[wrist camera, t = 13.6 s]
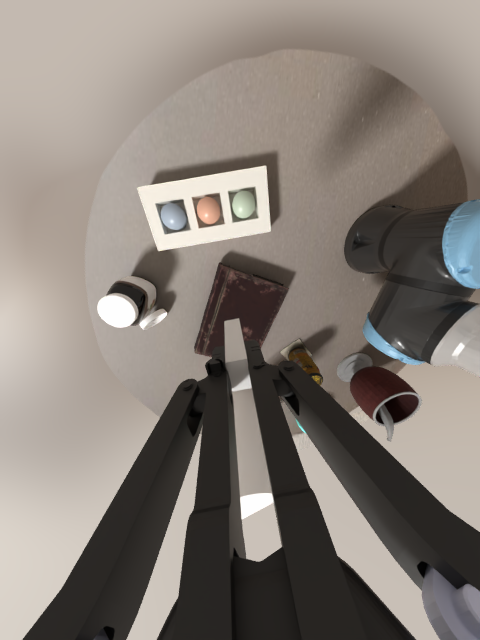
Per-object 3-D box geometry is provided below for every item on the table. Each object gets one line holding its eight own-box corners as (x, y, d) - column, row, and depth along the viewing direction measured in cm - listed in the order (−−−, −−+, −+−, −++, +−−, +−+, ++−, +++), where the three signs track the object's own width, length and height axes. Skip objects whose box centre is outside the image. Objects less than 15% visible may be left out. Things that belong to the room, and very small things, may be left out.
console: (261, 173, 37) (266, 165, 32) (266, 232, 41) (270, 231, 37) (146, 193, 36) (136, 187, 32) (164, 249, 41) (158, 251, 37)
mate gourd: (344, 348, 58) (399, 398, 40) (380, 352, 60) (448, 402, 42) (326, 384, 64) (367, 441, 46) (360, 386, 67) (411, 442, 48)
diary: (195, 343, 53) (192, 353, 49) (219, 261, 44) (218, 264, 39) (252, 357, 57) (254, 368, 52) (285, 284, 48) (292, 289, 43)
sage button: (251, 192, 36) (253, 188, 33) (253, 217, 38) (256, 215, 35) (230, 196, 36) (230, 192, 33) (233, 220, 38) (234, 219, 35)
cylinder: (208, 407, 64) (199, 518, 39) (243, 380, 60) (258, 484, 35) (241, 427, 70) (251, 534, 45) (274, 404, 66) (306, 506, 41)
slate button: (184, 204, 36) (180, 201, 33) (190, 228, 38) (187, 227, 35) (162, 208, 36) (157, 205, 33) (169, 231, 38) (165, 231, 35)
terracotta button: (217, 198, 36) (217, 195, 33) (222, 222, 38) (222, 221, 35) (196, 202, 36) (194, 198, 33) (201, 226, 38) (200, 225, 35)
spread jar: (129, 269, 42) (98, 280, 32) (176, 288, 45) (162, 303, 34) (120, 312, 46) (90, 334, 36) (163, 327, 49) (147, 351, 39)
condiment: (293, 366, 60) (309, 395, 49) (279, 351, 56) (293, 378, 45) (311, 354, 58) (332, 381, 47) (298, 338, 55) (317, 363, 44)
